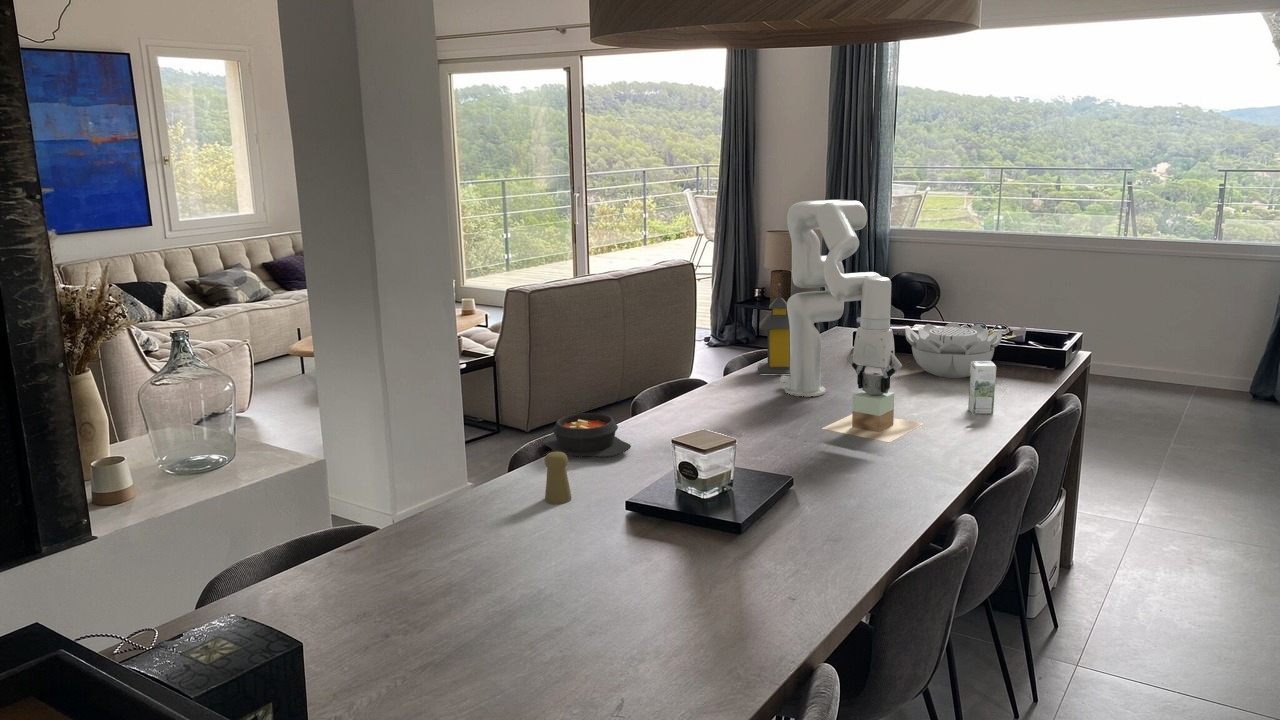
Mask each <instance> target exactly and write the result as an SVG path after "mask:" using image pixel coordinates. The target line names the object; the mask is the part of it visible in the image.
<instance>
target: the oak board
mask: <svg viewBox="0 0 1280 720" xmlns="http://www.w3.org/2000/svg"><path fill="white" fill-rule="evenodd" d="M924 424H925V423H923V422H917V421H911V420H907V419H901V418H895V417H894V420H893V425H892V426H891V427H889V428H887V429H885V430H883V431H881V432H875V431H870V430H865V429H859V428H854V427H852V413H851V414H850V415H847V416H845V417H843V418H841V419H839V420H836V421H835V422H832V423H830V424H828V425H826V426H824V427H822V428H821V430H825V431H831V432H836V433H840V434H845V435H850V436H855V437H860V438H865V439H870V440H873V441H874V440H875V441H880V442H885V443H891V442H893V441H895V440H897V439H899V438H901V437H903V436H904V435H906V434H909V433H910V432H911V431H913V430H916V429H917V428H919V427H920V426H922V425H924Z"/></svg>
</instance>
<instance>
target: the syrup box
mask: <svg viewBox="0 0 1280 720" xmlns="http://www.w3.org/2000/svg"><path fill="white" fill-rule="evenodd" d="M996 377H997V365H996V364H995V363H994V362H993V361H992V360H991V361H971V368H970V376H969V389H968V407H967V408H968V410H969V412H971V414H973V415H994V406H995V392H996V390H995V389H996Z"/></svg>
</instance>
